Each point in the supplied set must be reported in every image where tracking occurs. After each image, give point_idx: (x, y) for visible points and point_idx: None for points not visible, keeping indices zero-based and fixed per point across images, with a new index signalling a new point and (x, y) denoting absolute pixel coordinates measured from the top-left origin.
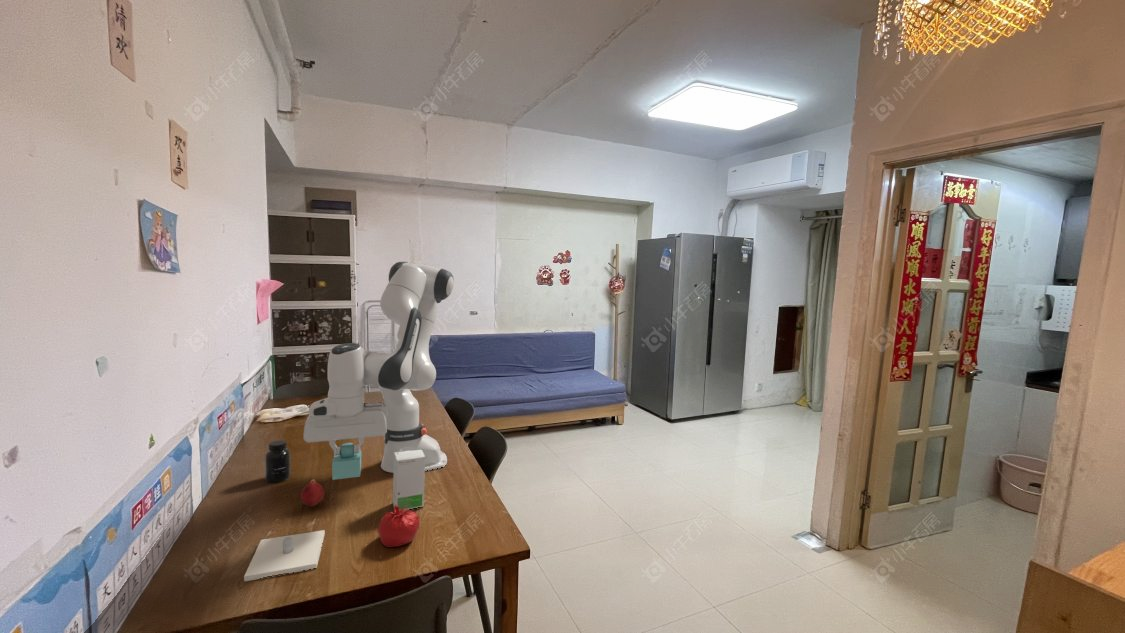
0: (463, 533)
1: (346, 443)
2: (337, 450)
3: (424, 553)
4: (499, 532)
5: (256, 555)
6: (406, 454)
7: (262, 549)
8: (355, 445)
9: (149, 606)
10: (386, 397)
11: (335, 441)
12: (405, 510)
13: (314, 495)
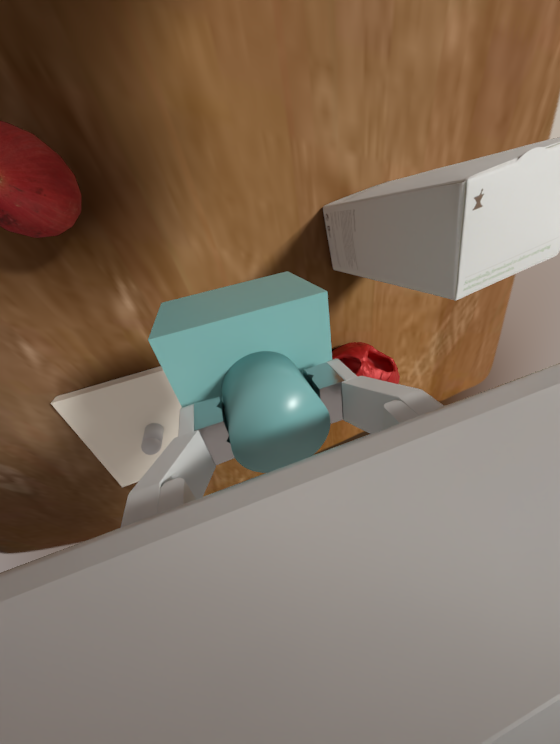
0: (438, 349)
1: (266, 405)
2: (221, 458)
3: None
4: (484, 346)
5: (94, 446)
6: (509, 224)
7: (90, 430)
8: (329, 388)
9: (8, 535)
10: None
11: (194, 496)
12: (383, 379)
13: (57, 229)
